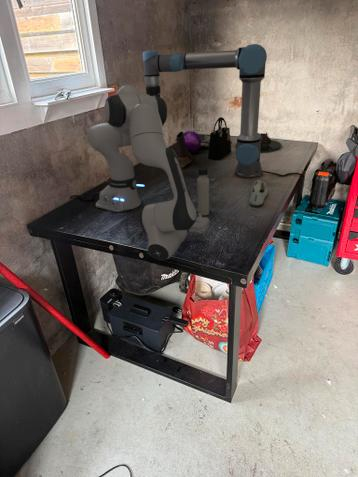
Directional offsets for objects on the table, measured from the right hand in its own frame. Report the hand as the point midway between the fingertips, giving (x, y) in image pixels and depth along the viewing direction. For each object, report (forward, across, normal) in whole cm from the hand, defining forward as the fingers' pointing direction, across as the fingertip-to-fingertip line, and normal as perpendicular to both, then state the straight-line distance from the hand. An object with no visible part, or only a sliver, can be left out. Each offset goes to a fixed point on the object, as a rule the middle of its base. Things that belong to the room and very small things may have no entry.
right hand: (156, 128), depth 177 cm
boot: (+28, -29, +7) cm, 41 cm away
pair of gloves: (+28, -76, +13) cm, 82 cm away
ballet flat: (+28, +20, +57) cm, 67 cm away
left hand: (+19, +62, +32) cm, 72 cm away
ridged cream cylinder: (+28, +42, +34) cm, 60 cm away
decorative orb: (+28, -53, +5) cm, 60 cm away
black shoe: (+28, -74, +50) cm, 93 cm away
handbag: (+28, -47, +27) cm, 61 cm away
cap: (+8, +42, +34) cm, 54 cm away
